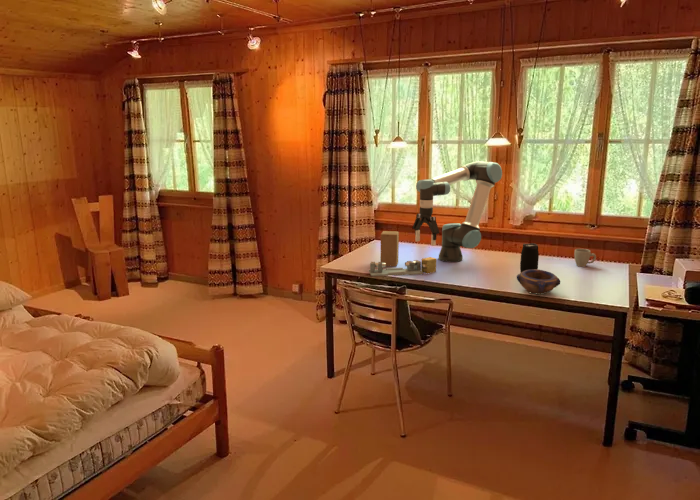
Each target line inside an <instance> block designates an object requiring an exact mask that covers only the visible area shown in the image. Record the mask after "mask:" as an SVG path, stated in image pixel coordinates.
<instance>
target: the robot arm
mask: <svg viewBox="0 0 700 500" xmlns="http://www.w3.org/2000/svg"><path fill="white" fill-rule="evenodd" d="M502 177H503V170H502V167H501V165H500V164H499V163H498V162H493V161H481V160H480V161H478V160H477V161H473V162H470V163H467V164H464V165H462V166H460V167H459V168H457V169H454V170H452V171H449V172H446V173H442V174H440V175H437V176H435V177H432V178H428V179H420V180H418V181H417V183H416V184H415V188H416V190H417V192H419V213H417V214H416V218H415V219H414V223H413V224H412V229H413V230H414V236H415V238H414V239H415V240H414V241H415V242H416V243H417V242H420V241H421V230H420V229H421V227H422V225H424V224H427V225H428V227H429V229H430V231H431V238H430V240H431V241H430V245H431V246H432V247H433V246H436V244H437V243H436V241H437V236H438V234H440V229H439V227H438V223H437V216H432V215H433V213H434V208H433V206H434V197H435V196H446V195H448V194H450V192H451V185H453V184H456V183H459V182H462V181H463V182H466V181H470V180H471V181H473V180H474V181H475V183H476V187H475V189H474V193H473V195H472V199H471V201H470V205H469V207H468V211H467V213H466V217H465V219H464V221H462V222H461V223H457V222H456V223H446V224H443V225H442V229H441V248H440V251H439V253H438V260H439V261H441V262H448V263H455V262H456V263H457V262H461V261H463V260H464V259H463V257H464V256H463V254H462V249H461V247H463V248H465V249H473V248H474V249H475V248H476V247H478V245H479V244H480V243H481V241H482V233H481V232H480V230H481V228H480V225H479V224H480V222H481V219H482V217H483V213H484V211H485V207H486V203H487V201H488V199H489V194H490V191H491V189H492V188H494V187H495V186H496V185H495V184H496V183H498V182H499V181H501V179H502Z"/></svg>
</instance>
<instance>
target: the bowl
mask: <svg viewBox="0 0 700 500" xmlns="http://www.w3.org/2000/svg"><path fill="white" fill-rule="evenodd" d="M516 280H517V282H518V283H519V284H520V285H521V286H522V288H523V289H525V291H526V292H528V293H529V292H531V293H530V294H532V293H537V294H536V295H541V293H544V294H548V293H549V292H551V291H552V290H554V289H555V288H557V287H558V286H559V285H561V280H560V278H559V277H557V276H556V275H555V274H554V273H552V272H550V271H547V270H543V269H539V268H538V269H532V270H525V271H523V272H519V273H518V274H517V275H516Z"/></svg>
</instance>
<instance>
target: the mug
mask: <svg viewBox="0 0 700 500" xmlns="http://www.w3.org/2000/svg"><path fill="white" fill-rule="evenodd" d="M591 251H592V250H590V249H587V248H575V249H574V262H575V264H576V265H575V266H577V267H581V268H582V267H586V266H587V265H588V264H593V263H594V262H595V261H596V259H597V255H596V253H593V252H592V253H591ZM590 257H593V258H592V260H591V261H589V260H590Z"/></svg>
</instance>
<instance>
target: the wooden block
mask: <svg viewBox="0 0 700 500" xmlns="http://www.w3.org/2000/svg"><path fill="white" fill-rule="evenodd" d="M399 235H400V232H399V231H391V230H389V231H388V230H383V231H382V232H381V233H380V261H379V262H383V263H386V267H397V265H398V264H399V247H400V245H399V241H400V240H399V238H400V237H399Z"/></svg>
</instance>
